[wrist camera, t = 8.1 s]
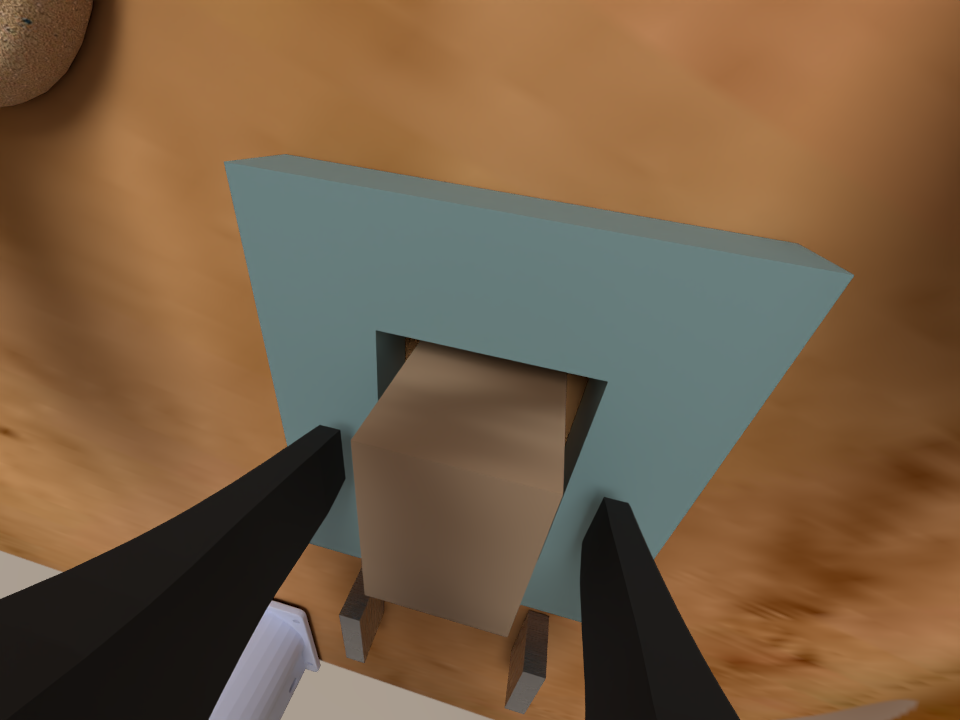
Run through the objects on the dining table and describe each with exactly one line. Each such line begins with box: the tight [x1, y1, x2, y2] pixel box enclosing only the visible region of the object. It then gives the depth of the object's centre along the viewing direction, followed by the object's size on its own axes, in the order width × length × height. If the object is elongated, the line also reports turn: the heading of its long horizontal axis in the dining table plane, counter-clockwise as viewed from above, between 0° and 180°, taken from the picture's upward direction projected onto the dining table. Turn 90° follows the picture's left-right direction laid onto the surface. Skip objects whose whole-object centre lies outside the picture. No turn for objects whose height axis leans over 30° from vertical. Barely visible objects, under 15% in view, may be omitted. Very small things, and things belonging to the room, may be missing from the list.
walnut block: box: [351, 340, 567, 637], centre depth 11 cm, size 4×6×5 cm, turn 172°
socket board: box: [224, 154, 854, 622], centre depth 12 cm, size 14×12×2 cm
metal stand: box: [339, 568, 549, 714], centre depth 19 cm, size 5×10×2 cm, turn 82°
